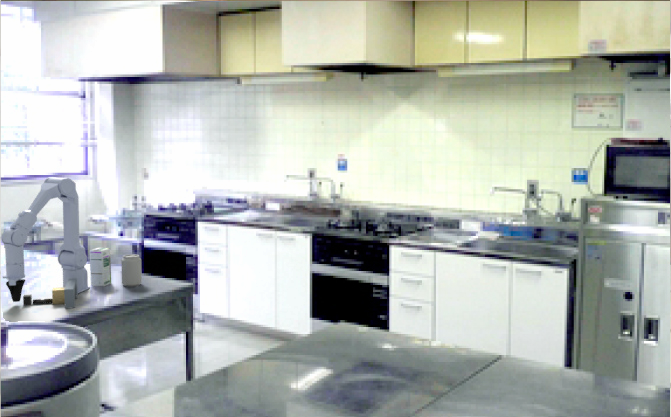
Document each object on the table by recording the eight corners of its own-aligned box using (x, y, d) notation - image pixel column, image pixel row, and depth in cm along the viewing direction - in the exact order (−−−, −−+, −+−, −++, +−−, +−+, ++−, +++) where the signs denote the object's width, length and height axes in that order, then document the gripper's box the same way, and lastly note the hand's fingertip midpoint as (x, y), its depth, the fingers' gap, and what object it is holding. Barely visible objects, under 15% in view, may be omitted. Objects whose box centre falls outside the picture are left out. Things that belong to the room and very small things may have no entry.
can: (117, 285, 263) (117, 256, 261) (130, 282, 270) (129, 252, 268) (133, 287, 260) (132, 257, 259) (145, 283, 267) (145, 254, 266)
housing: (64, 308, 229) (64, 289, 228) (68, 296, 245) (68, 278, 244) (74, 307, 230) (73, 289, 229) (77, 296, 246) (77, 278, 245)
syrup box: (103, 286, 261) (103, 250, 259) (90, 285, 262) (89, 249, 261) (111, 283, 267) (110, 247, 265) (98, 282, 268) (97, 247, 266)
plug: (23, 306, 231) (22, 292, 230) (24, 303, 235) (24, 289, 234) (64, 303, 235) (64, 289, 235) (65, 300, 239) (65, 287, 238)
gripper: (5, 259, 236) (7, 296, 238) (-2, 267, 222) (0, 307, 224) (27, 258, 238) (29, 295, 240) (21, 266, 225) (23, 305, 226)
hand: (16, 301), depth 232 cm, fingers closed
